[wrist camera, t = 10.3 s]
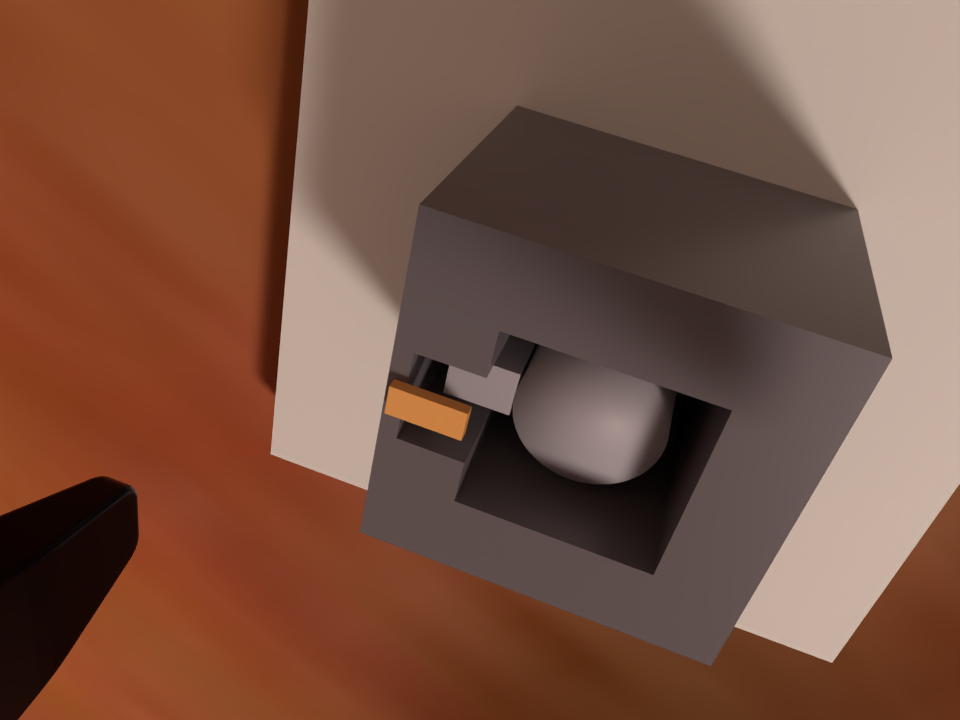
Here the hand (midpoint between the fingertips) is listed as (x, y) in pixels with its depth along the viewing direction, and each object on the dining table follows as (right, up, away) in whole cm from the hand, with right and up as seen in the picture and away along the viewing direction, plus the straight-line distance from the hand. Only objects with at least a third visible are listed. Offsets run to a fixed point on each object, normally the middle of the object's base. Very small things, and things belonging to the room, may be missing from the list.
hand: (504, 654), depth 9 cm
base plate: (+3, +5, +8) cm, 10 cm away
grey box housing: (+3, +4, +7) cm, 9 cm away
